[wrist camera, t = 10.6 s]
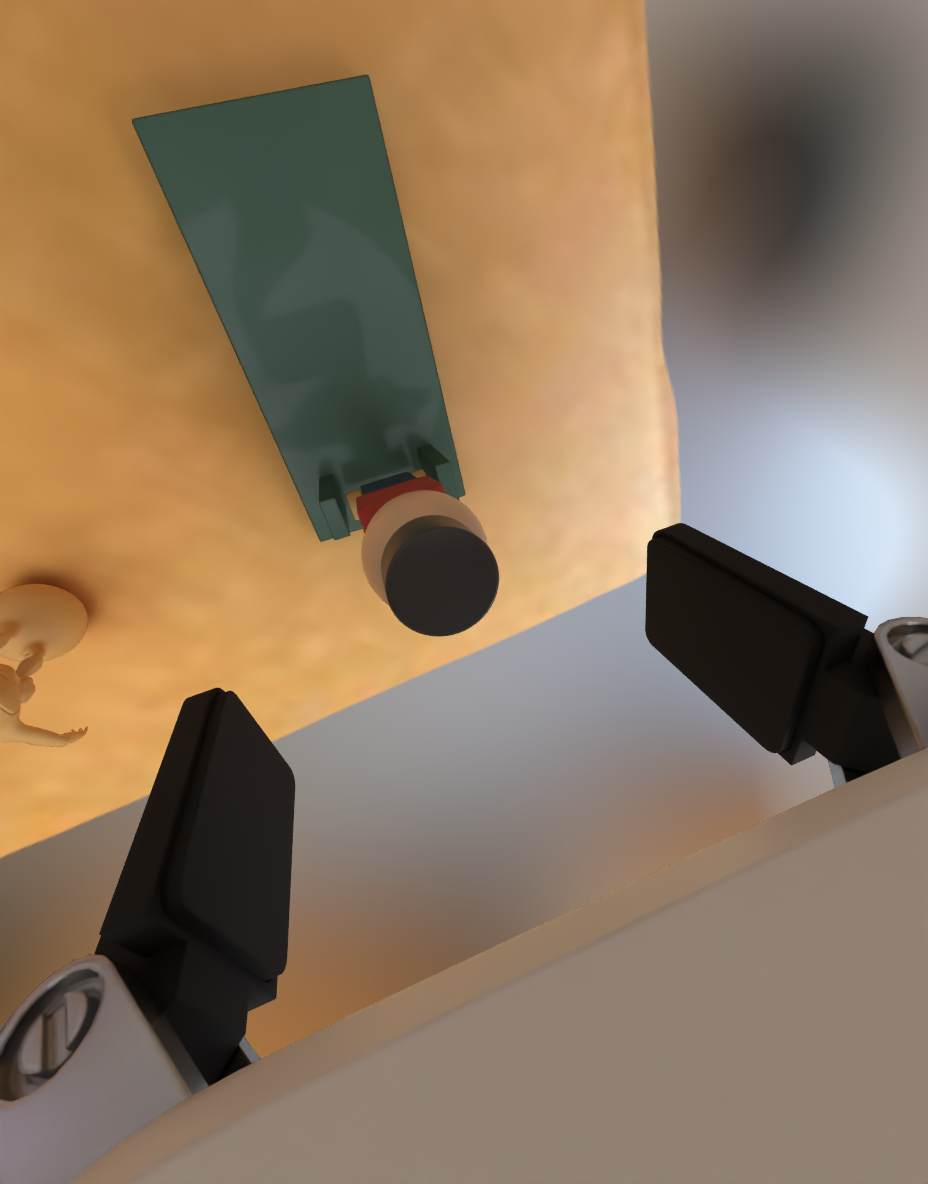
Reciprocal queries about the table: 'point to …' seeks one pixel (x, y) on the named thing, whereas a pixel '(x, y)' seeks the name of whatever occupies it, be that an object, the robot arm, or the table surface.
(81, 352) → the table surface
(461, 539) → the toy soldier
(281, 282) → the stand
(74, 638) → the figurine
